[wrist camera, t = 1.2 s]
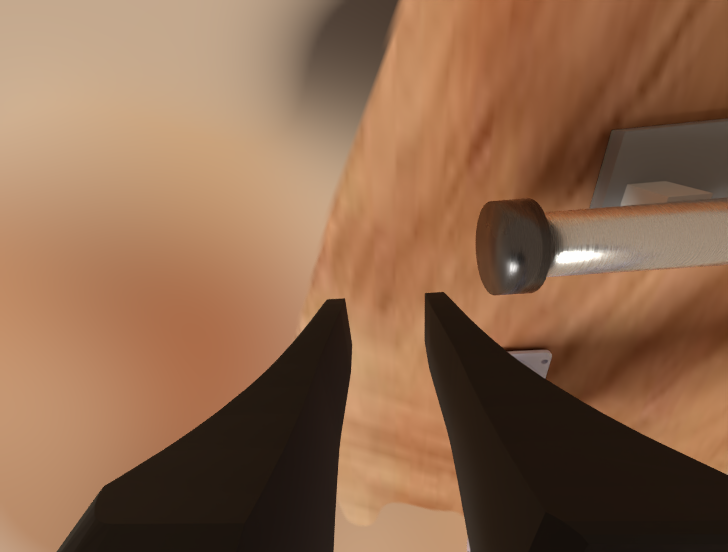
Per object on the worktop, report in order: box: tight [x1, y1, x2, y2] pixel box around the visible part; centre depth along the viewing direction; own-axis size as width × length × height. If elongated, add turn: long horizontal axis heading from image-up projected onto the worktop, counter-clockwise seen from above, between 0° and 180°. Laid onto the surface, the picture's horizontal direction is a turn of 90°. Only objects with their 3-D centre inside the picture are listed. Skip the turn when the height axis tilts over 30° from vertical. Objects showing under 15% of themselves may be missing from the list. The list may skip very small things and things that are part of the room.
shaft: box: [476, 197, 728, 295], centre depth 13 cm, size 5×16×5 cm, turn 96°
